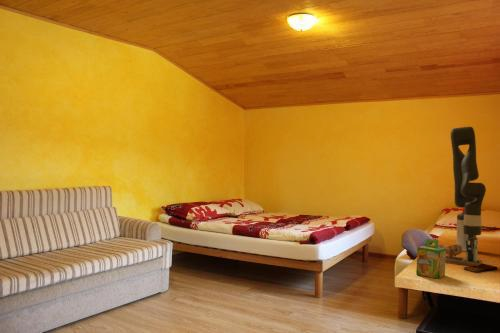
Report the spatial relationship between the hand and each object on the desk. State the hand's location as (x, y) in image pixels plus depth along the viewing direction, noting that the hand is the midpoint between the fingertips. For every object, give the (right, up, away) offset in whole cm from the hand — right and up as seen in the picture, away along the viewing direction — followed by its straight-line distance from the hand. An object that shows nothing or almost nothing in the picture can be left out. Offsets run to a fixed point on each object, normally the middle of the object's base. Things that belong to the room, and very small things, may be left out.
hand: (471, 260), depth 201 cm
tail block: (0, 0, 0) cm, 0 cm away
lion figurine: (-9, -1, +8) cm, 12 cm away
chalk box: (-30, -1, -26) cm, 40 cm away
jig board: (-6, -2, +5) cm, 8 cm away
